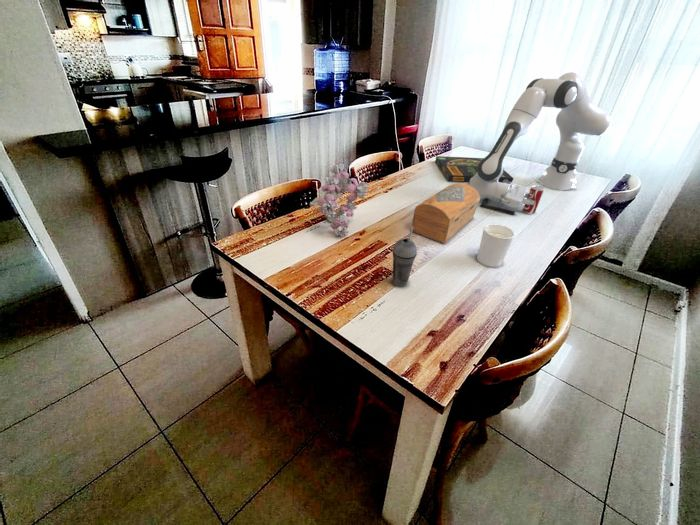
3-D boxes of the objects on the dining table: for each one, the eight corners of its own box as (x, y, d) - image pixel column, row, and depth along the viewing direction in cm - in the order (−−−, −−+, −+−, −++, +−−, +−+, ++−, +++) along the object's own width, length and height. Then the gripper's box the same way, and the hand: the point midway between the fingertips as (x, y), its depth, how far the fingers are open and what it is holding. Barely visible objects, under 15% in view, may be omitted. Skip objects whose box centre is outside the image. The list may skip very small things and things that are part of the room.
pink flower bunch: (290, 227, 126) (311, 178, 109) (316, 200, 142) (338, 154, 125) (333, 255, 127) (361, 211, 109) (354, 226, 143) (381, 183, 125)
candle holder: (503, 256, 118) (513, 227, 111) (504, 271, 110) (515, 240, 104) (475, 250, 120) (483, 221, 114) (474, 264, 113) (483, 234, 106)
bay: (487, 195, 164) (488, 193, 164) (519, 203, 158) (520, 201, 158) (480, 206, 153) (480, 204, 152) (513, 215, 147) (514, 212, 146)
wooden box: (441, 207, 151) (447, 178, 143) (475, 218, 142) (483, 188, 135) (407, 230, 131) (412, 198, 124) (444, 244, 123) (452, 211, 115)
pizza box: (511, 184, 179) (513, 178, 177) (448, 181, 179) (449, 175, 177) (489, 164, 208) (491, 158, 206) (435, 161, 208) (436, 156, 206)
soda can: (535, 215, 148) (545, 190, 141) (523, 213, 149) (533, 188, 142) (532, 210, 152) (542, 185, 145) (521, 208, 153) (530, 184, 146)
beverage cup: (386, 275, 106) (393, 220, 94) (408, 275, 106) (417, 220, 95) (390, 290, 100) (398, 233, 88) (413, 289, 100) (424, 233, 89)
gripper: (500, 193, 143) (534, 201, 137) (509, 180, 158) (540, 187, 152) (496, 206, 147) (529, 215, 141) (505, 192, 161) (535, 199, 156)
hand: (535, 200), depth 147 cm, fingers closed on soda can, 5 cm apart
